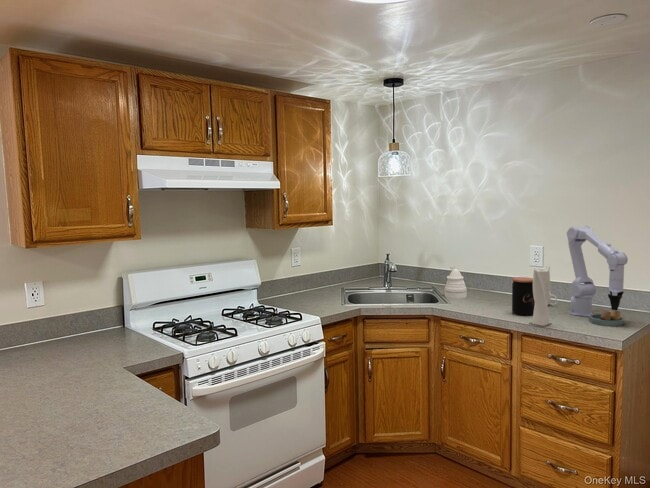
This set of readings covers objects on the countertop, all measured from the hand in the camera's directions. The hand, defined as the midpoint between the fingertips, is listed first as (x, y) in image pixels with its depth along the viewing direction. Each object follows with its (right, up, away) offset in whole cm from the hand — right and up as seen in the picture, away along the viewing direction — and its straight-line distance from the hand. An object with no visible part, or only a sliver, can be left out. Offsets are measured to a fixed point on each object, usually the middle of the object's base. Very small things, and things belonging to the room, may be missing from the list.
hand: (615, 308), depth 232 cm
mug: (-14, -4, +41) cm, 43 cm away
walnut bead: (-5, -7, 0) cm, 8 cm away
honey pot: (-55, -2, +71) cm, 90 cm away
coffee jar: (-33, -6, +23) cm, 41 cm away
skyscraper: (-34, -8, +2) cm, 35 cm away
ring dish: (-3, -7, +3) cm, 8 cm away
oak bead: (0, -7, +1) cm, 7 cm away
